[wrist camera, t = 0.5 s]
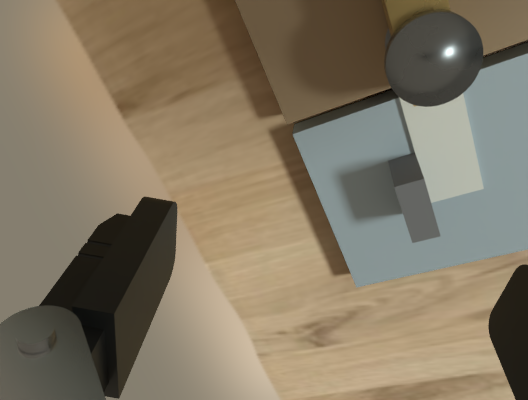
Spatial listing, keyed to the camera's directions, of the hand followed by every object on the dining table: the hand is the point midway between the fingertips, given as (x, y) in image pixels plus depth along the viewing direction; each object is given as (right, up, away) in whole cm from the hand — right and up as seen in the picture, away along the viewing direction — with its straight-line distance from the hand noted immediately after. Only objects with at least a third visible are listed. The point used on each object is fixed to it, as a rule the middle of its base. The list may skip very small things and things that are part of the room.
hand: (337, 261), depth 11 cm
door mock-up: (+10, +11, +21) cm, 26 cm away
